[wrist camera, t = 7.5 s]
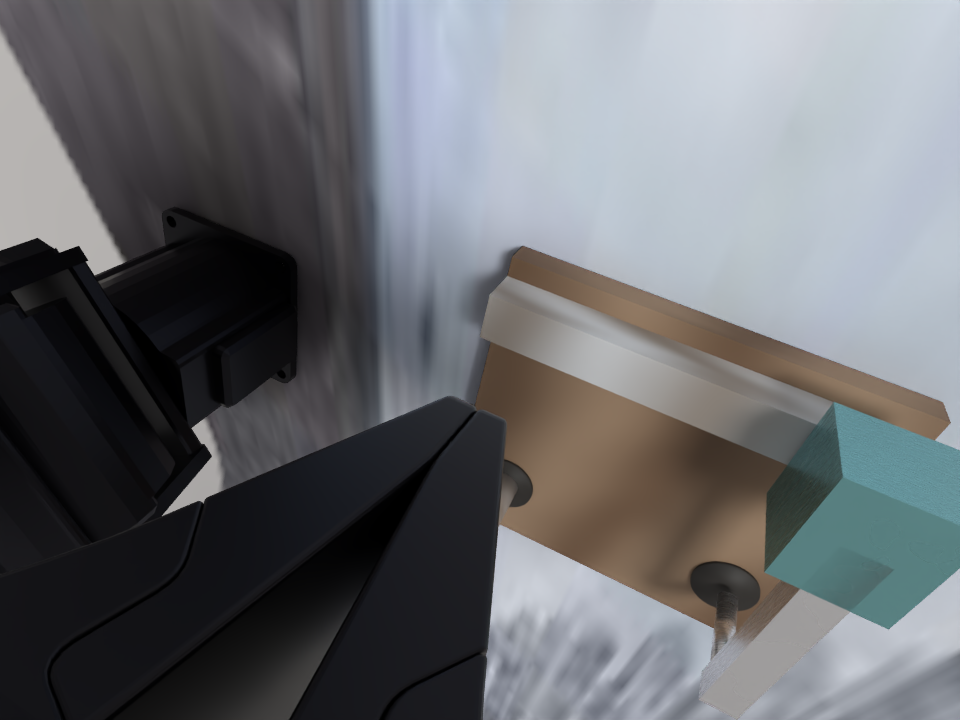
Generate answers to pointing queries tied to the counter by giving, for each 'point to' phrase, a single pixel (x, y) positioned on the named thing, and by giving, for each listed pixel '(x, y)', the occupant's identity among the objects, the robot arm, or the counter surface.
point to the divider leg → (839, 548)
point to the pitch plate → (655, 430)
